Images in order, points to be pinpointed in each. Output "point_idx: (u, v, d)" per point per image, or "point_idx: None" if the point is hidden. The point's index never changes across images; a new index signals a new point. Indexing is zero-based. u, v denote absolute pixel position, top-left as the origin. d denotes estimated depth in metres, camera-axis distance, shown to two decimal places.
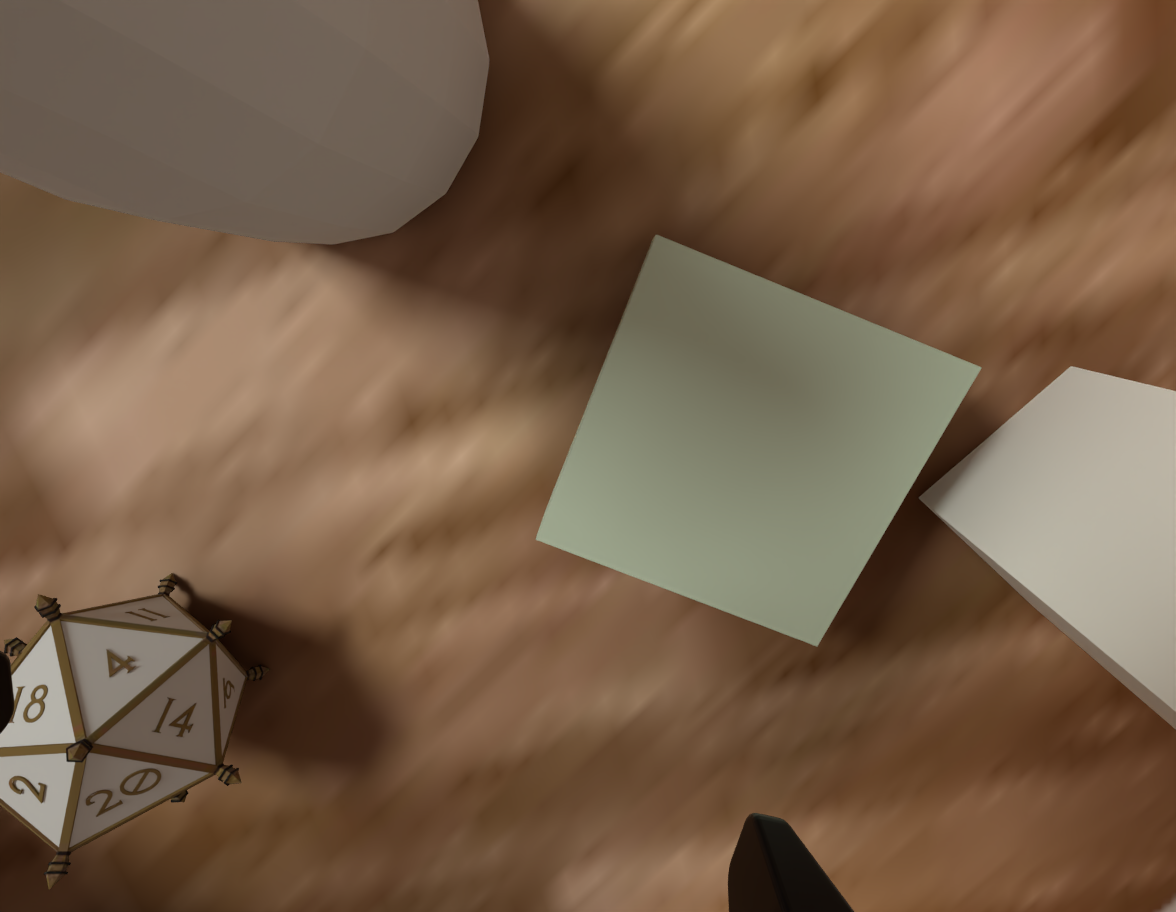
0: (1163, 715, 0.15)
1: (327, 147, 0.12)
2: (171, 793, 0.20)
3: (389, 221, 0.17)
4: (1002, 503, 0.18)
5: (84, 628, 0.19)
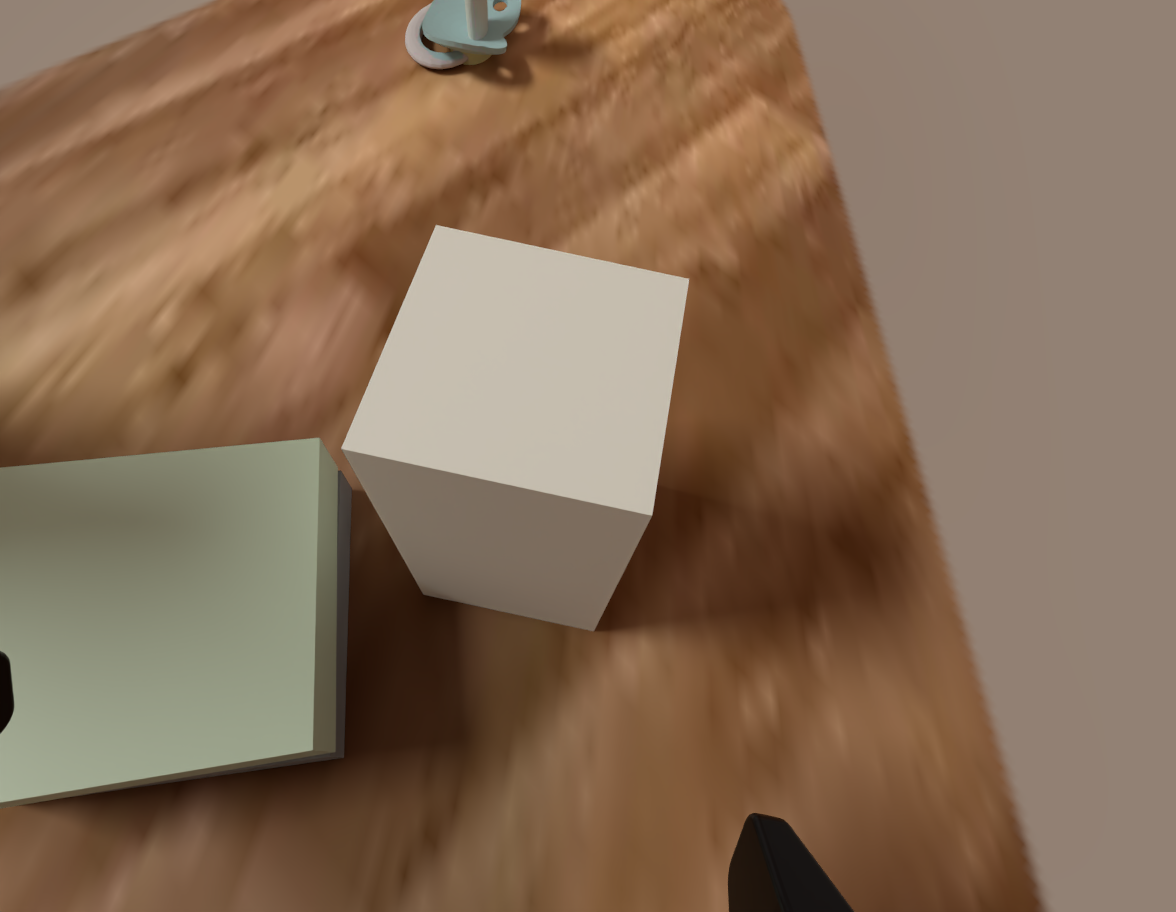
0: (557, 561, 0.15)
1: None
2: None
3: None
4: None
5: None
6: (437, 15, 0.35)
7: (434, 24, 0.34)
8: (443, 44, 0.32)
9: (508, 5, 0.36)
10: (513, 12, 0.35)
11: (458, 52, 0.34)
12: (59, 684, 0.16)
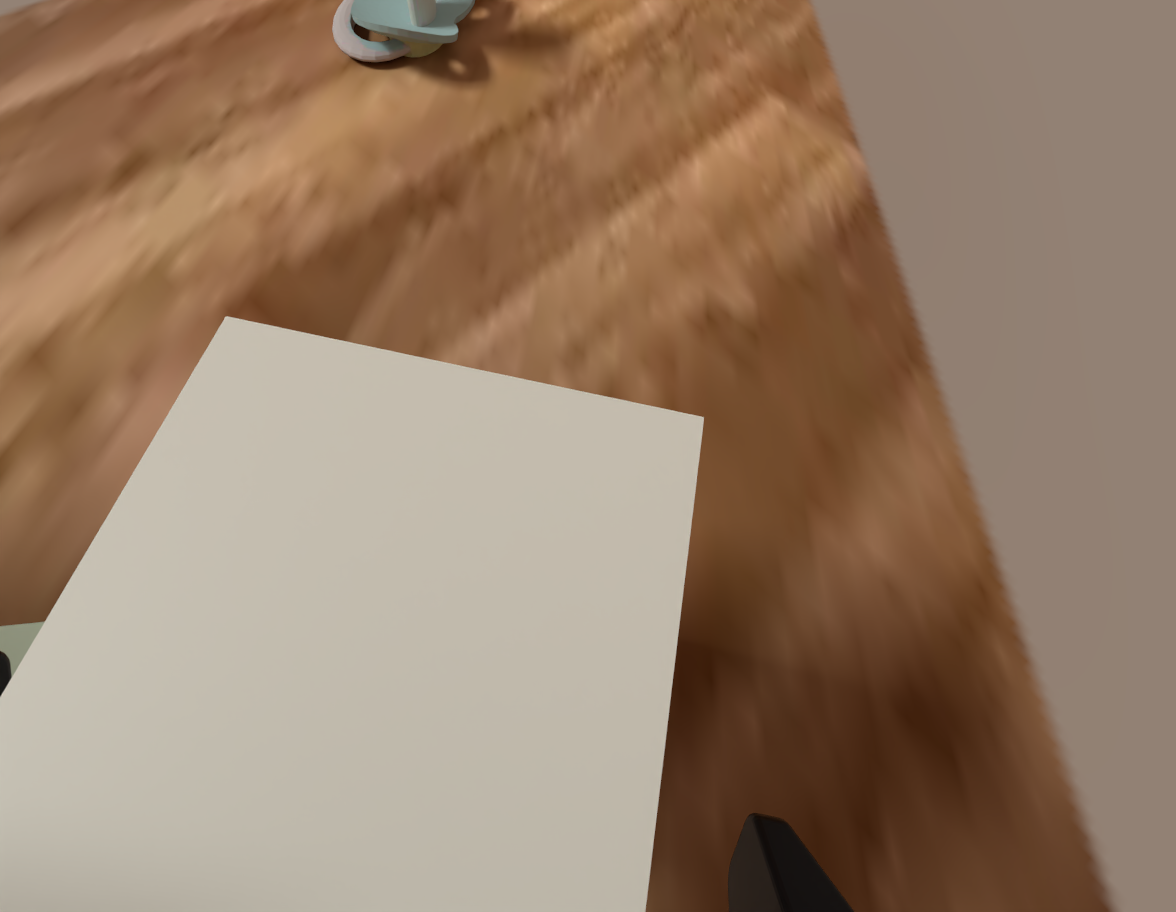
0: None
1: None
2: None
3: None
4: None
5: None
6: None
7: (368, 7, 0.28)
8: (374, 30, 0.26)
9: None
10: None
11: (397, 41, 0.27)
12: None
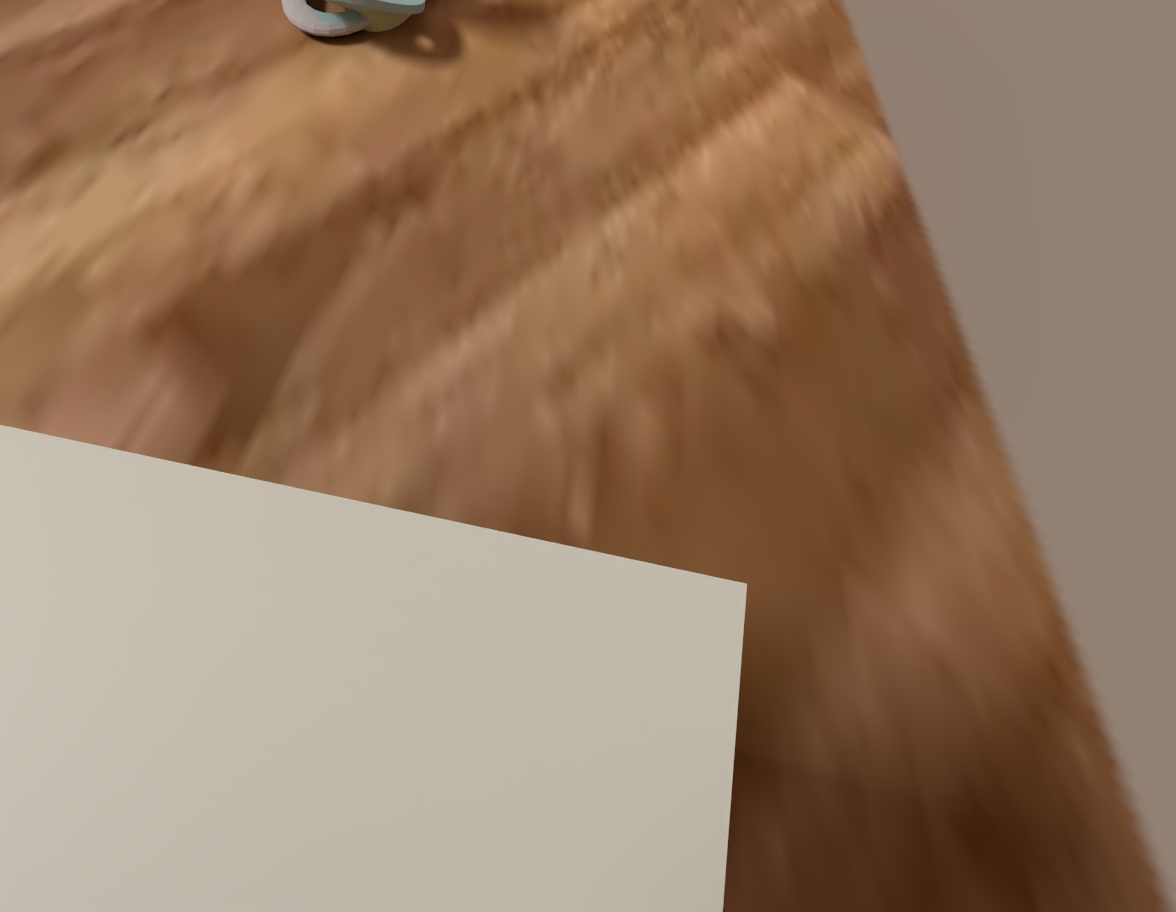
0: None
1: None
2: None
3: None
4: None
5: None
6: None
7: None
8: None
9: None
10: None
11: (355, 12, 0.24)
12: None
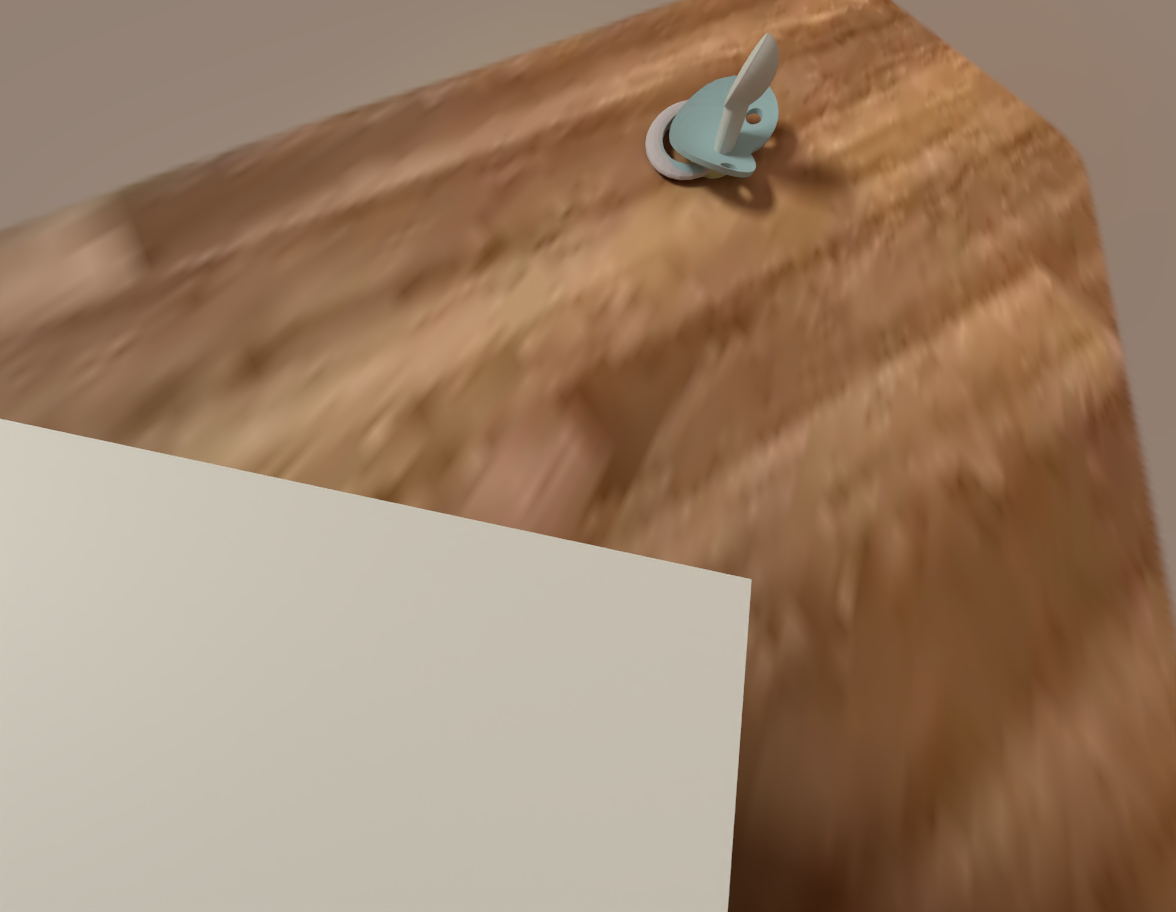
0: None
1: None
2: None
3: None
4: None
5: None
6: (685, 119, 0.32)
7: (681, 130, 0.32)
8: (691, 159, 0.30)
9: (763, 119, 0.32)
10: (767, 128, 0.32)
11: None
12: None
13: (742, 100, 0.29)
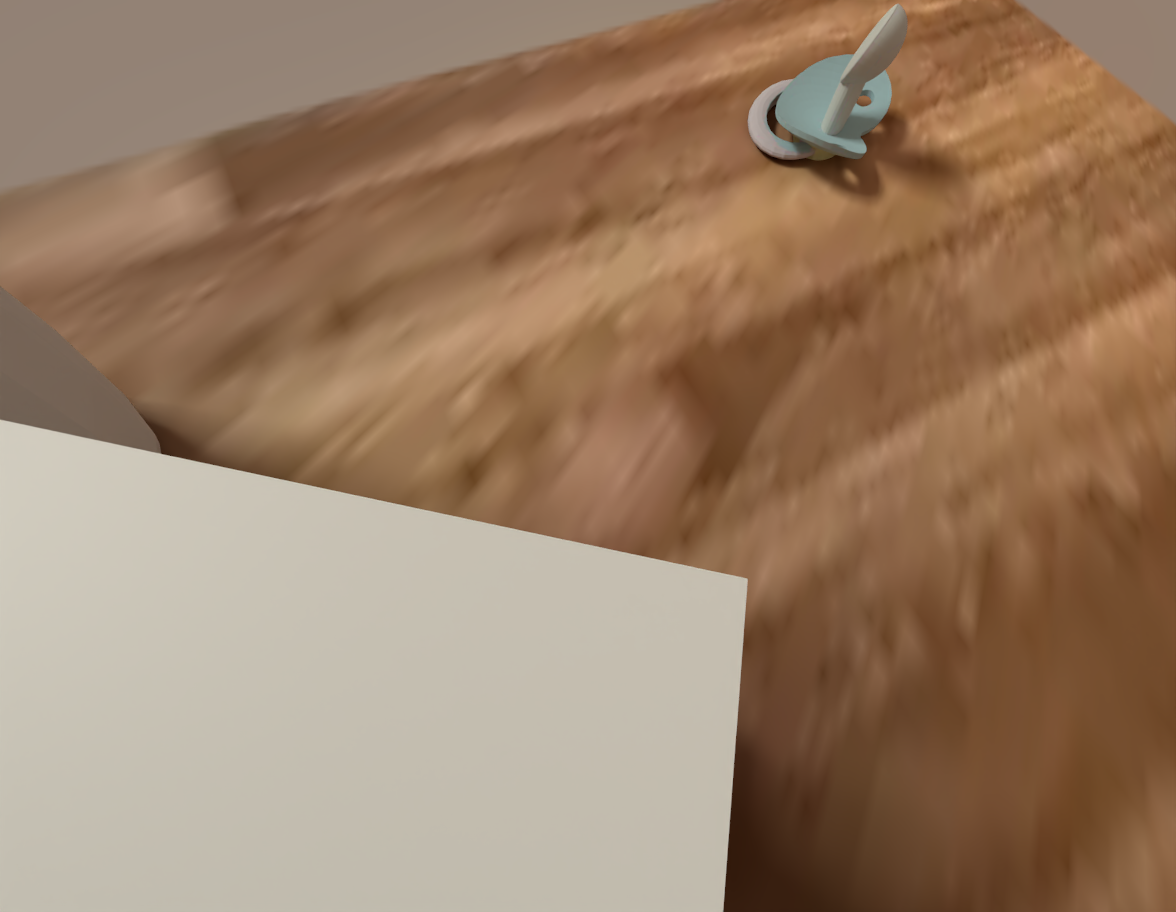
0: None
1: None
2: None
3: None
4: None
5: None
6: (791, 97, 0.30)
7: (787, 108, 0.30)
8: (800, 136, 0.28)
9: (874, 101, 0.31)
10: (878, 111, 0.30)
11: (806, 144, 0.30)
12: None
13: (862, 75, 0.27)
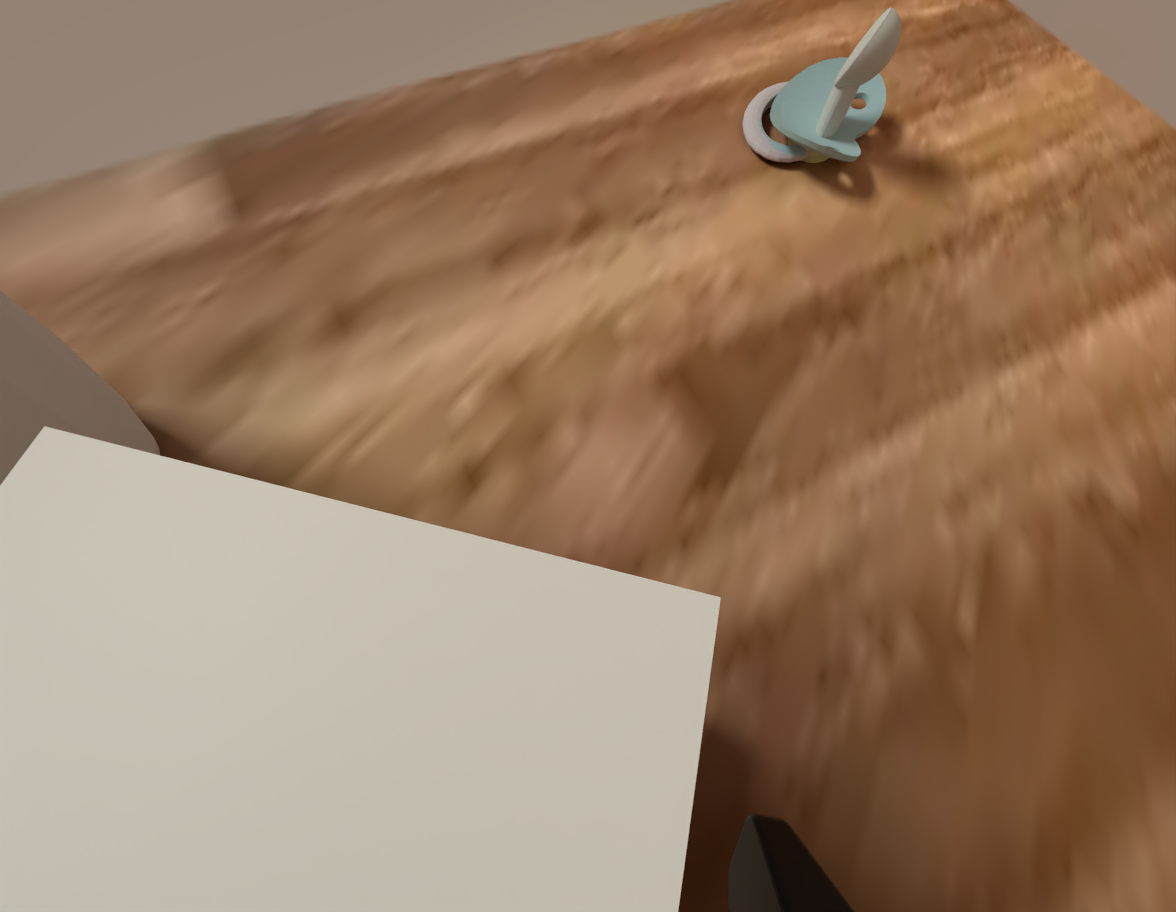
0: None
1: None
2: None
3: None
4: None
5: None
6: (786, 100, 0.31)
7: (782, 110, 0.30)
8: (794, 139, 0.28)
9: (868, 104, 0.31)
10: (873, 114, 0.31)
11: (801, 147, 0.30)
12: None
13: (856, 78, 0.27)
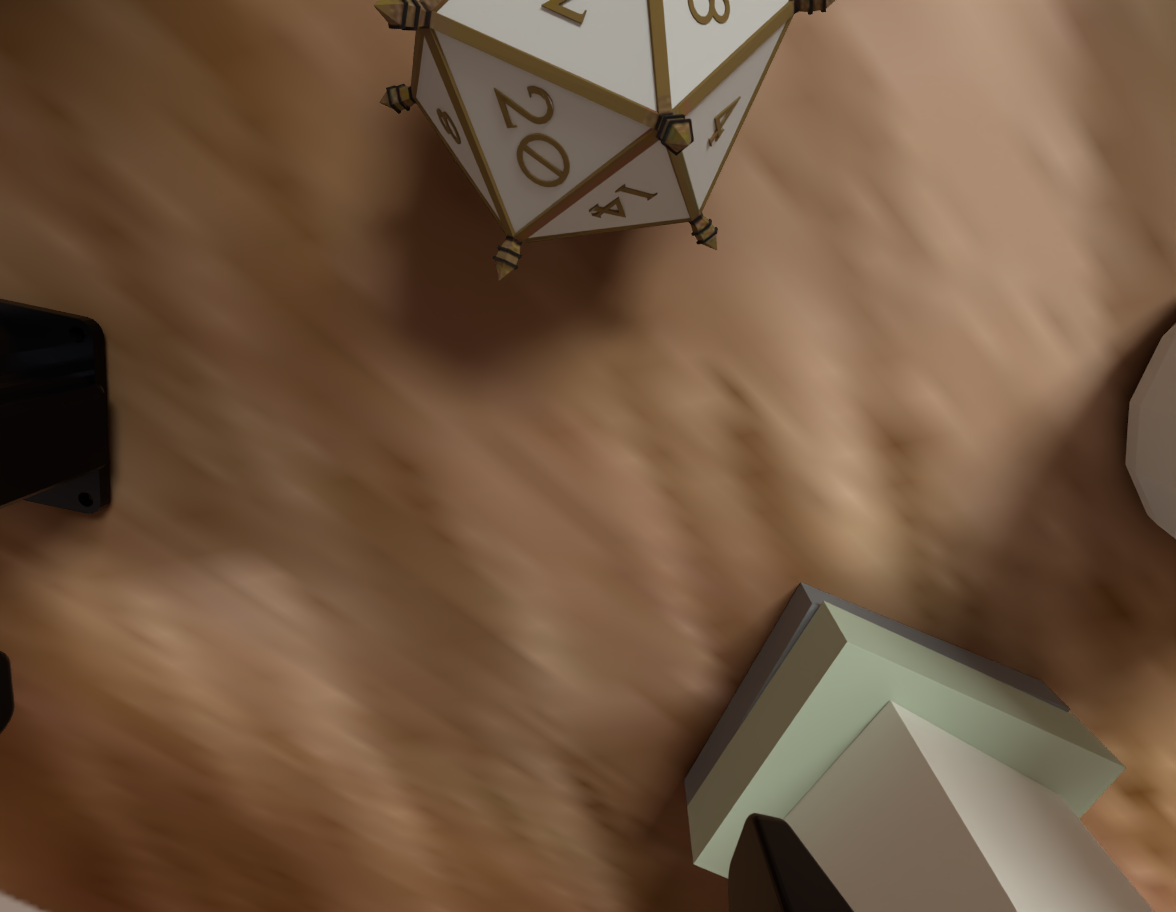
0: None
1: None
2: (496, 184, 0.12)
3: None
4: (989, 812, 0.15)
5: (769, 53, 0.12)
6: None
7: None
8: None
9: None
10: None
11: None
12: None
13: None
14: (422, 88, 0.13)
